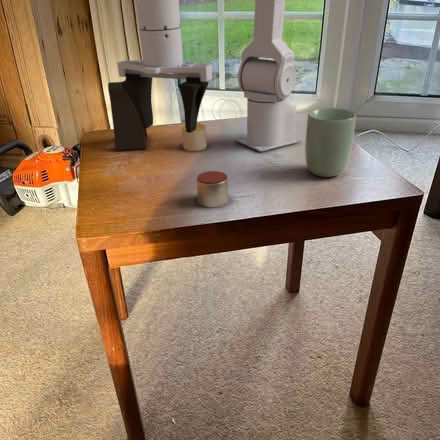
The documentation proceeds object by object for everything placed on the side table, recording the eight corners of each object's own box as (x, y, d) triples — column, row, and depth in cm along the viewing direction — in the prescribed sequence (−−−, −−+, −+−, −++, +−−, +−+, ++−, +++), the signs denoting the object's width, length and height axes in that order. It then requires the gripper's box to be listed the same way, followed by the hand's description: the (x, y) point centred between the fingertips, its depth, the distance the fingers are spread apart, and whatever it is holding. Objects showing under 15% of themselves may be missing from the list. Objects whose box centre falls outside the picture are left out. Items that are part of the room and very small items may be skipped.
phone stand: (145, 149, 92) (137, 86, 85) (116, 151, 91) (105, 88, 84) (147, 136, 99) (140, 76, 92) (120, 137, 99) (110, 78, 92)
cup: (310, 183, 76) (316, 122, 70) (297, 166, 82) (301, 109, 76) (355, 179, 77) (364, 118, 71) (338, 163, 83) (345, 106, 77)
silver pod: (217, 192, 74) (217, 168, 72) (234, 202, 71) (233, 177, 68) (192, 199, 72) (190, 175, 70) (208, 210, 69) (206, 185, 66)
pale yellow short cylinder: (199, 141, 95) (198, 122, 93) (211, 147, 92) (210, 127, 89) (179, 146, 93) (177, 126, 91) (190, 152, 90) (189, 132, 87)
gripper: (99, 31, 62) (115, 131, 70) (194, 33, 57) (200, 141, 65) (127, 24, 67) (139, 119, 75) (216, 26, 62) (219, 127, 70)
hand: (169, 128), depth 70 cm, fingers open, 7 cm apart
